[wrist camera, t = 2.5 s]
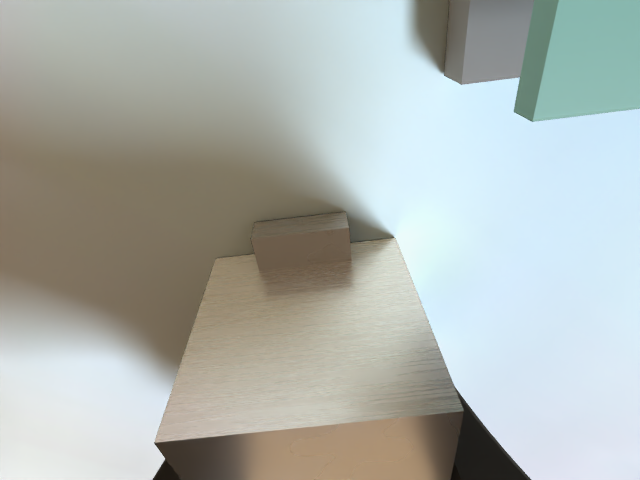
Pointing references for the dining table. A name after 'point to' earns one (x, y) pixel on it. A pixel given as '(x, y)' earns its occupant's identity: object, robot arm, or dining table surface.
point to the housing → (311, 366)
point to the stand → (550, 53)
